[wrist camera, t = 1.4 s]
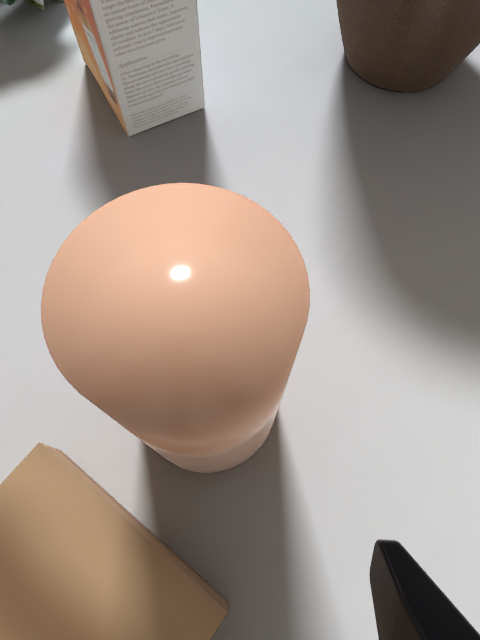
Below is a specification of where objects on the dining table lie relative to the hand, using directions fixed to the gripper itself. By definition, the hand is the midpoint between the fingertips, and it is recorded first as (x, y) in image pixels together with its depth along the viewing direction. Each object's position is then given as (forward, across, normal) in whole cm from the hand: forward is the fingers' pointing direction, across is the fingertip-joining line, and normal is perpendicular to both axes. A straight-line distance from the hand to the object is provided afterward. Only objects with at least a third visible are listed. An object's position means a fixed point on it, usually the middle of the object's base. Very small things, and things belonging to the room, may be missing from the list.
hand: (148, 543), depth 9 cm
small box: (+28, +6, -10) cm, 30 cm away
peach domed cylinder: (+12, 0, +5) cm, 13 cm away
